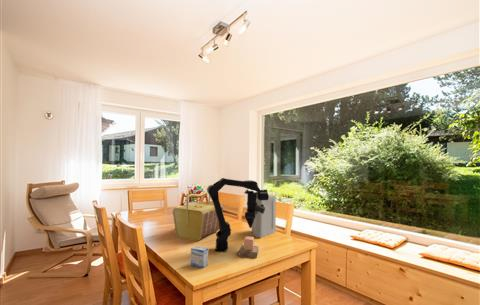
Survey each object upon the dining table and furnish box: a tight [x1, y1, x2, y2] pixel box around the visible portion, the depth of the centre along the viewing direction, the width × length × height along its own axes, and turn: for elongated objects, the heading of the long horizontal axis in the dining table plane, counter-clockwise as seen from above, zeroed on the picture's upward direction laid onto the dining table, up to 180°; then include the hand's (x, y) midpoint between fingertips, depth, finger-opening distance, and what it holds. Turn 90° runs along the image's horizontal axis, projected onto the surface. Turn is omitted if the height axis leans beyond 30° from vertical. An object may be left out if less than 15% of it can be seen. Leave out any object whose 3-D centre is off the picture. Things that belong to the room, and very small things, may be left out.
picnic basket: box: [172, 190, 224, 242], centre depth 170 cm, size 29×26×30 cm
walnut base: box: [238, 244, 259, 259], centre depth 136 cm, size 10×10×3 cm
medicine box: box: [189, 245, 209, 269], centre depth 120 cm, size 8×4×9 cm, turn 69°
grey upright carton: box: [251, 193, 277, 239], centre depth 176 cm, size 19×15×28 cm
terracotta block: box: [243, 235, 255, 250], centre depth 136 cm, size 5×5×6 cm
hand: (251, 225), depth 147 cm, fingers open, 9 cm apart
